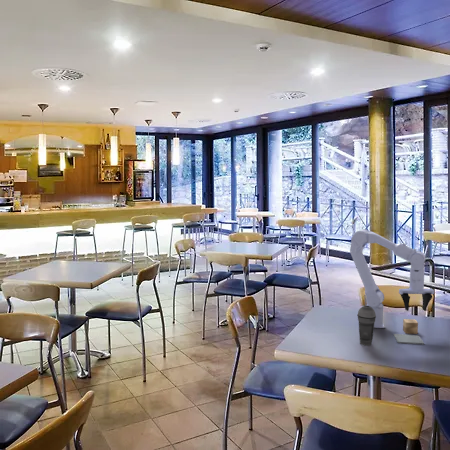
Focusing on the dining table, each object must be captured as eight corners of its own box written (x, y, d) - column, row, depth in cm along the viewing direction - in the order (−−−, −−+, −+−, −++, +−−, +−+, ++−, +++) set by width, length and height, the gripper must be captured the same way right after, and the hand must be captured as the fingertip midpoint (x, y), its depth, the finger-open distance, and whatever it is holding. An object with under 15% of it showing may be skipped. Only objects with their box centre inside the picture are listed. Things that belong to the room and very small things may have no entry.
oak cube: (405, 333, 202) (405, 322, 202) (403, 330, 207) (403, 319, 206) (417, 334, 201) (418, 322, 201) (414, 330, 206) (415, 319, 206)
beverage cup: (365, 348, 184) (366, 298, 182) (352, 342, 190) (353, 294, 189) (379, 345, 187) (380, 296, 186) (366, 339, 194) (367, 292, 192)
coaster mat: (398, 343, 190) (398, 341, 190) (393, 335, 199) (393, 333, 199) (424, 344, 188) (424, 343, 188) (418, 336, 198) (418, 335, 198)
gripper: (403, 281, 199) (402, 312, 200) (437, 281, 199) (436, 312, 200) (397, 278, 206) (396, 308, 207) (430, 278, 206) (428, 308, 207)
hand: (415, 310), depth 204 cm, fingers open, 7 cm apart
